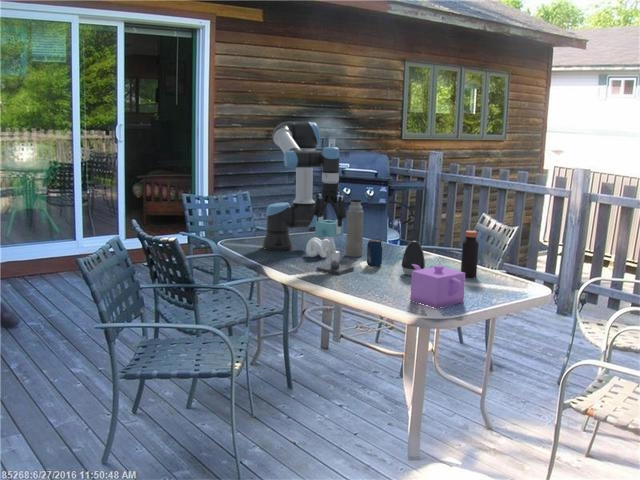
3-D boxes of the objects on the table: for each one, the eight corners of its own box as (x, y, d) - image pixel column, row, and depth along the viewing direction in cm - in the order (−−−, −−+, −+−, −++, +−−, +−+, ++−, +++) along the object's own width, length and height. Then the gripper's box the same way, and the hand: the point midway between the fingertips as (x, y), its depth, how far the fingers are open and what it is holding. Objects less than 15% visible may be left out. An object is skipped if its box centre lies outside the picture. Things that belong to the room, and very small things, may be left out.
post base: (316, 270, 290) (316, 252, 288) (332, 266, 299) (332, 248, 297) (338, 274, 283) (339, 255, 281) (353, 270, 292) (354, 251, 290)
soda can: (383, 265, 304) (384, 239, 301) (378, 268, 297) (379, 242, 295) (369, 263, 306) (370, 238, 304) (364, 266, 300) (365, 240, 298)
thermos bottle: (346, 253, 328) (348, 198, 323) (362, 253, 327) (364, 198, 322) (345, 256, 320) (347, 200, 315) (361, 257, 320) (363, 200, 314)
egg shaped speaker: (426, 273, 290) (428, 239, 287) (422, 278, 280) (424, 243, 277) (403, 270, 293) (405, 237, 290) (398, 275, 284) (400, 241, 281)
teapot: (423, 291, 260) (425, 257, 257) (473, 306, 241) (476, 269, 238) (396, 296, 251) (398, 261, 248) (446, 312, 231) (448, 274, 229)
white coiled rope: (301, 257, 316) (301, 239, 314) (310, 253, 327) (311, 235, 325) (322, 260, 312) (323, 241, 310) (331, 255, 322) (332, 237, 321)
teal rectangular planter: (327, 238, 284) (328, 224, 283) (311, 235, 290) (312, 222, 289) (346, 234, 295) (346, 221, 294) (330, 232, 301) (330, 219, 299)
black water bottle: (478, 277, 283) (481, 232, 280) (463, 278, 282) (467, 232, 279) (472, 274, 290) (475, 230, 286) (458, 274, 289) (461, 230, 285)
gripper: (305, 181, 292) (305, 230, 296) (345, 184, 279) (344, 236, 283) (316, 180, 298) (315, 229, 301) (355, 183, 285) (353, 234, 288)
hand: (329, 232), depth 292 cm, fingers closed on teal rectangular planter, 9 cm apart
